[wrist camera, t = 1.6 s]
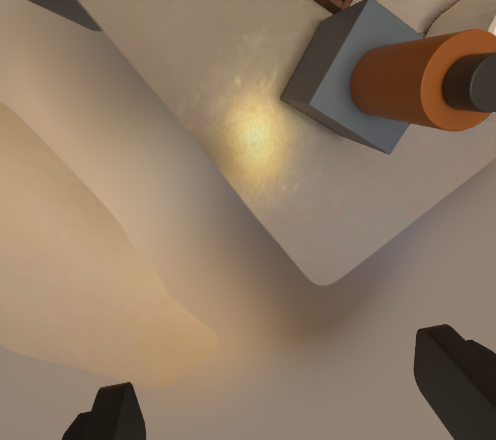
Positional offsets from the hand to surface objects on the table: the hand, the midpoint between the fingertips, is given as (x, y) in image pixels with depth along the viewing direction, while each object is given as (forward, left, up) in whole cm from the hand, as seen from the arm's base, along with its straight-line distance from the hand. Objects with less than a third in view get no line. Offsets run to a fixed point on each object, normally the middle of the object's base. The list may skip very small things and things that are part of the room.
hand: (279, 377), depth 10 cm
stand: (+6, +12, -29) cm, 32 cm away
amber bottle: (+6, +12, -19) cm, 24 cm away
